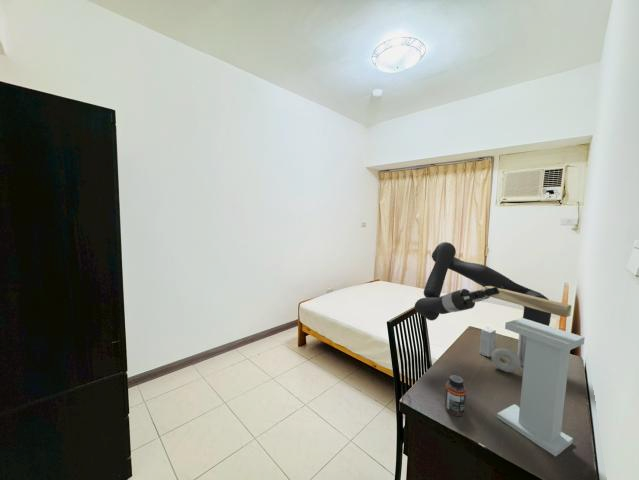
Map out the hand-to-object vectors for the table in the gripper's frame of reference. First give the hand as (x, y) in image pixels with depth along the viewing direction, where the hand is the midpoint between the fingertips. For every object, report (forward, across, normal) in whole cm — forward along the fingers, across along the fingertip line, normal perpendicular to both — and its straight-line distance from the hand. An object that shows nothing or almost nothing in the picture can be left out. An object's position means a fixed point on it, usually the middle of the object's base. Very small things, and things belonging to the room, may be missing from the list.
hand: (500, 289), depth 86 cm
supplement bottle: (-23, -15, +34) cm, 44 cm away
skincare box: (-39, +34, +25) cm, 57 cm away
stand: (-10, 0, +42) cm, 43 cm away
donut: (-28, +26, +31) cm, 49 cm away
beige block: (+4, 0, +6) cm, 7 cm away
